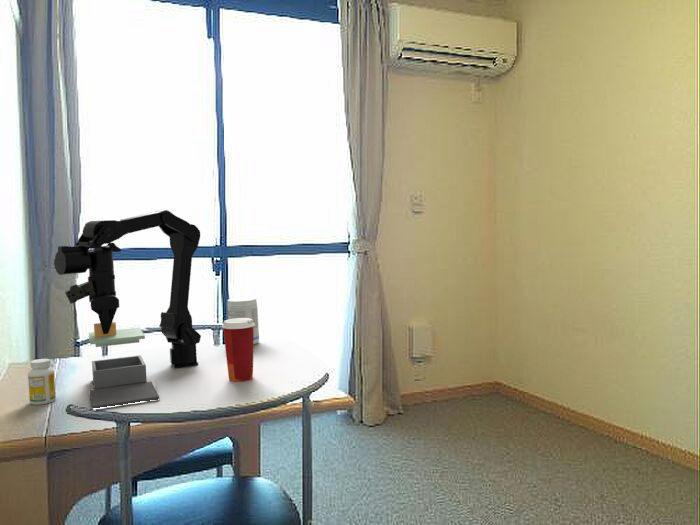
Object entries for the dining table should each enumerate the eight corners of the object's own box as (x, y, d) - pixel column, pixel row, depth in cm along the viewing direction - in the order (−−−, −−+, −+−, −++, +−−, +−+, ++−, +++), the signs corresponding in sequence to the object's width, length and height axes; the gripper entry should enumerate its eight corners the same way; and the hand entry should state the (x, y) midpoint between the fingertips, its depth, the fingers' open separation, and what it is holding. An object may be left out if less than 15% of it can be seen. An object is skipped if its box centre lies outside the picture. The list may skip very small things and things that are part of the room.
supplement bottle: (35, 406, 133) (32, 364, 132) (25, 402, 136) (22, 361, 136) (60, 400, 137) (57, 359, 136) (50, 396, 140) (47, 356, 140)
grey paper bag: (250, 339, 200) (248, 295, 199) (264, 343, 193) (262, 298, 191) (223, 343, 194) (221, 299, 193) (238, 348, 187) (236, 302, 185)
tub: (141, 373, 159) (140, 355, 159) (146, 384, 148) (145, 364, 148) (93, 380, 154) (91, 361, 154) (94, 391, 143) (93, 371, 143)
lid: (139, 334, 158) (138, 316, 158) (145, 342, 147) (144, 323, 147) (89, 339, 153) (88, 321, 153) (90, 348, 142) (89, 328, 142)
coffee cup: (262, 375, 154) (260, 317, 152) (247, 384, 146) (244, 323, 145) (234, 373, 156) (231, 317, 155) (217, 381, 149) (214, 322, 147)
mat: (151, 385, 147) (151, 381, 147) (159, 400, 135) (159, 396, 135) (90, 394, 141) (90, 390, 141) (92, 410, 129) (91, 406, 129)
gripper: (66, 270, 153) (70, 330, 154) (65, 276, 136) (70, 343, 137) (112, 267, 157) (116, 326, 159) (117, 273, 141) (121, 338, 142)
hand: (105, 333), depth 149 cm, fingers closed on lid
